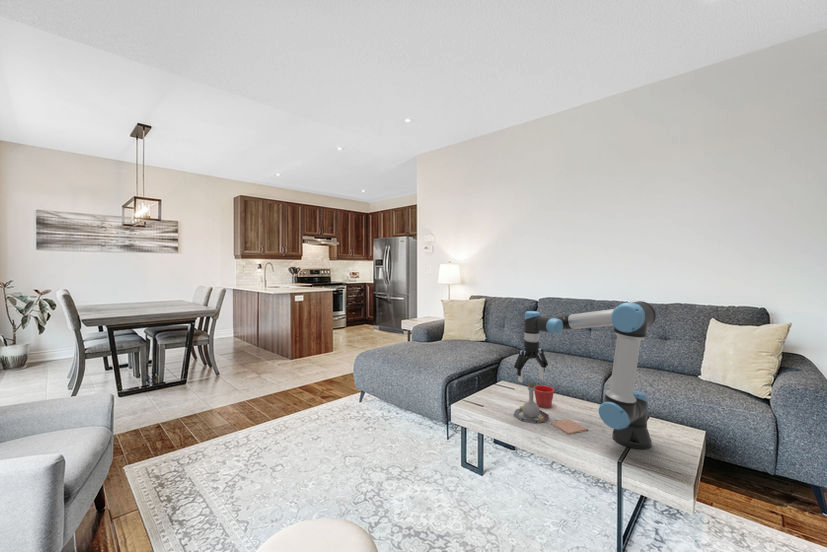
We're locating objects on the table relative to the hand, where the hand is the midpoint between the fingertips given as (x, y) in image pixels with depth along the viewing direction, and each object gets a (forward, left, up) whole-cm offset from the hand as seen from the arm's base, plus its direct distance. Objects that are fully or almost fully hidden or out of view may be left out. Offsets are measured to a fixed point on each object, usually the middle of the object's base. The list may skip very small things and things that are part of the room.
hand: (530, 380), depth 187 cm
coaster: (-17, -9, -19) cm, 27 cm away
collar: (0, 0, -19) cm, 19 cm away
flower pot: (+10, -17, -19) cm, 28 cm away
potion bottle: (0, 0, -19) cm, 19 cm away
